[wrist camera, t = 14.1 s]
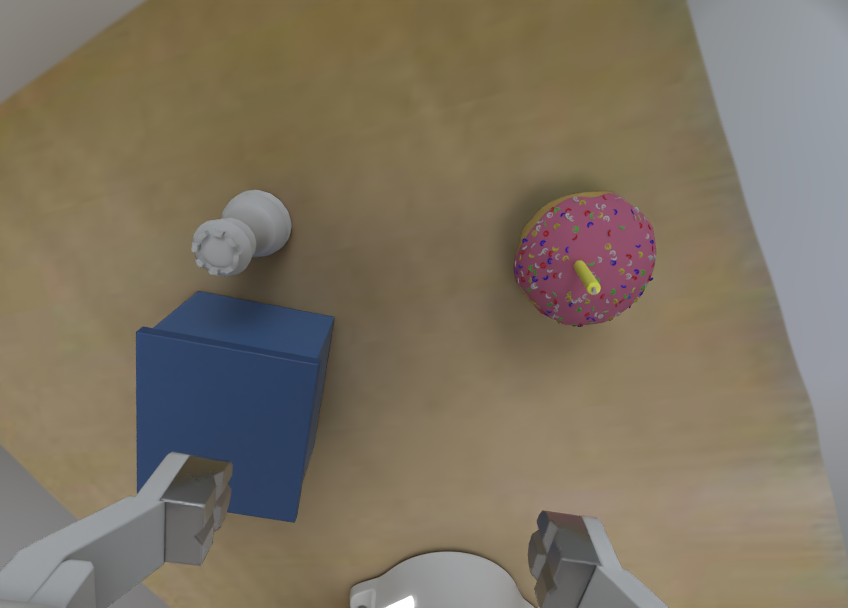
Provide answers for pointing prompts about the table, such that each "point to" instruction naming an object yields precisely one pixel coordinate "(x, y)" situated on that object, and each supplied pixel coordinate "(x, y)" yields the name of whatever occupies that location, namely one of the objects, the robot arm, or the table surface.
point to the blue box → (234, 395)
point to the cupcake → (585, 258)
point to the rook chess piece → (242, 233)
